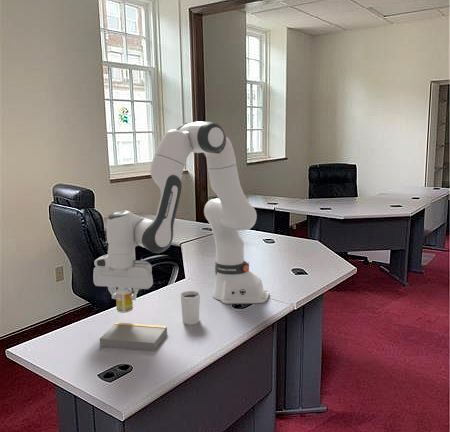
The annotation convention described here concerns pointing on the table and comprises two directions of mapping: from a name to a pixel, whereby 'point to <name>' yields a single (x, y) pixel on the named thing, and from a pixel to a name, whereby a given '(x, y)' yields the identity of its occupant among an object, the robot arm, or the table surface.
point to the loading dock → (134, 336)
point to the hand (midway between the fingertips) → (124, 299)
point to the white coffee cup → (190, 307)
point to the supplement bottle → (124, 299)
